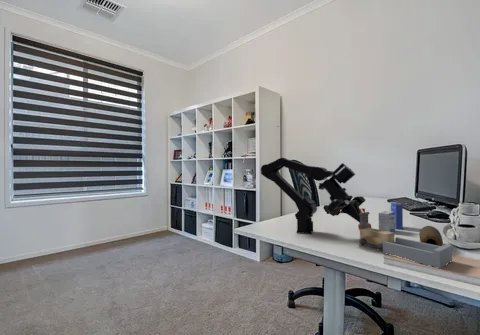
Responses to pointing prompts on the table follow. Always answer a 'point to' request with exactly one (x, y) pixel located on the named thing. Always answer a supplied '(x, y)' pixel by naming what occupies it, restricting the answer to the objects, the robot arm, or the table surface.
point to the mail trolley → (373, 233)
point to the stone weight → (430, 236)
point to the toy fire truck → (359, 222)
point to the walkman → (397, 214)
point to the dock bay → (418, 251)
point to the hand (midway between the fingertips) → (361, 221)
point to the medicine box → (387, 221)
